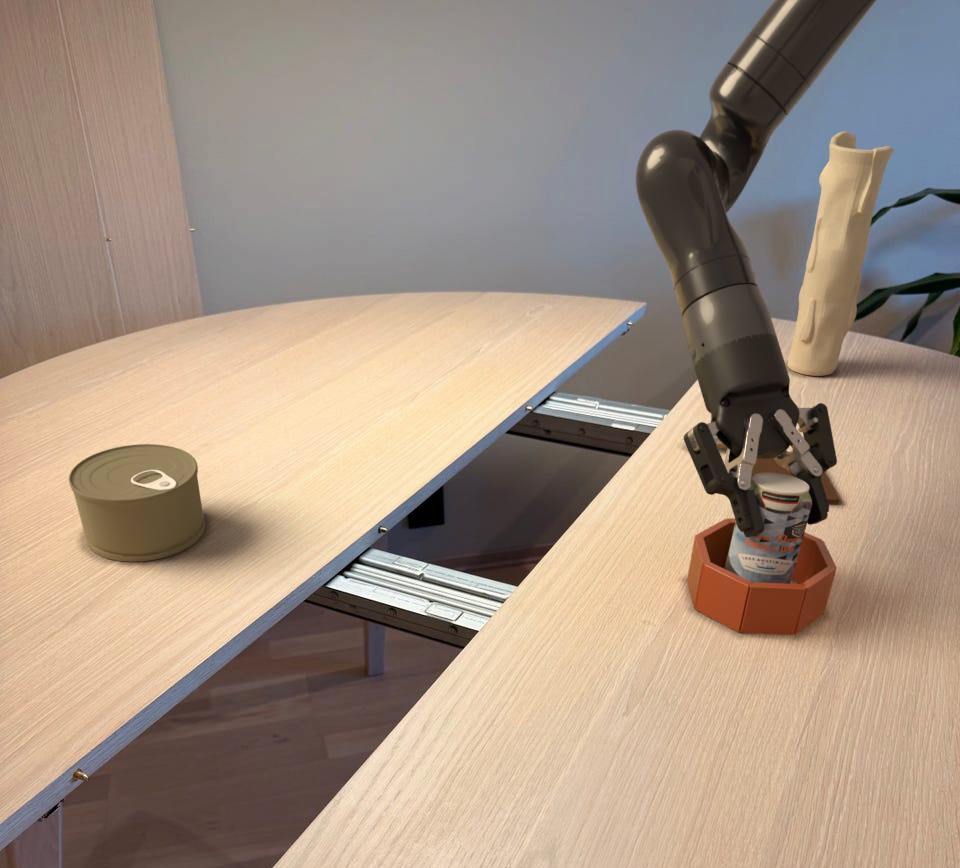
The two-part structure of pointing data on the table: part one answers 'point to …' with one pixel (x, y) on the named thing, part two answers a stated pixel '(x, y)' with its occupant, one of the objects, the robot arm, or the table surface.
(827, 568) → the octagonal ring
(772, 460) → the coaster
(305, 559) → the table surface
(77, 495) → the can
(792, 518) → the beverage can
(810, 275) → the pillar candle
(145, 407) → the table surface
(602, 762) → the table surface
